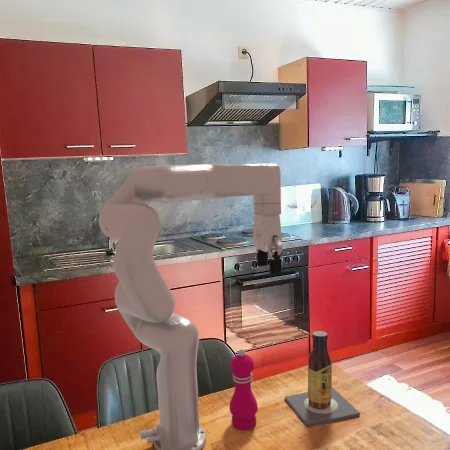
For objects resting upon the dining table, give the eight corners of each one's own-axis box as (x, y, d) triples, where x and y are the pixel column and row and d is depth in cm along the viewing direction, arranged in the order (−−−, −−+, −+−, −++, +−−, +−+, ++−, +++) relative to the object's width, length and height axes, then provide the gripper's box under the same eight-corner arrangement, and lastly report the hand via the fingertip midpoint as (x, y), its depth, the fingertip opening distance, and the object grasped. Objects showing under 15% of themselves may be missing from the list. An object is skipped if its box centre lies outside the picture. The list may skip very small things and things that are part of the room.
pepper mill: (256, 432, 111) (253, 356, 108) (227, 430, 113) (224, 355, 110) (259, 416, 118) (257, 344, 115) (232, 414, 120) (230, 343, 117)
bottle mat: (307, 427, 113) (307, 423, 113) (284, 399, 126) (284, 396, 126) (359, 415, 117) (359, 412, 117) (332, 390, 130) (332, 387, 130)
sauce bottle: (325, 413, 117) (324, 340, 114) (303, 405, 121) (302, 335, 118) (335, 401, 122) (335, 332, 119) (314, 395, 126) (314, 327, 123)
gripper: (244, 207, 131) (246, 264, 133) (266, 213, 115) (267, 278, 117) (268, 205, 133) (269, 261, 136) (293, 211, 117) (294, 275, 119)
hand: (268, 269), depth 126 cm, fingers open, 9 cm apart
